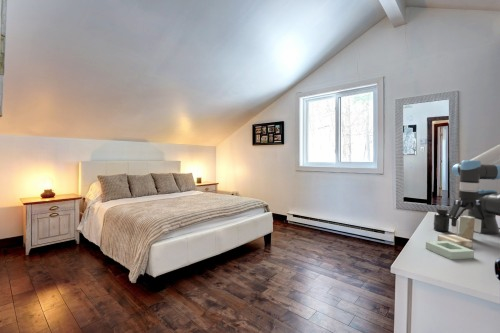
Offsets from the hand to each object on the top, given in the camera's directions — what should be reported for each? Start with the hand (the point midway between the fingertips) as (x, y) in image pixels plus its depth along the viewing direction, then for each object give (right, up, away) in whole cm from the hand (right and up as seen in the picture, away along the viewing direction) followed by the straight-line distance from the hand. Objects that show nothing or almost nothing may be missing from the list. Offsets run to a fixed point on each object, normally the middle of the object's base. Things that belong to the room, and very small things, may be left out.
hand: (466, 232), depth 129 cm
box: (0, -3, 0) cm, 3 cm away
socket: (-25, -4, -20) cm, 32 cm away
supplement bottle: (-3, -3, +13) cm, 13 cm away
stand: (-14, -3, -9) cm, 17 cm away
